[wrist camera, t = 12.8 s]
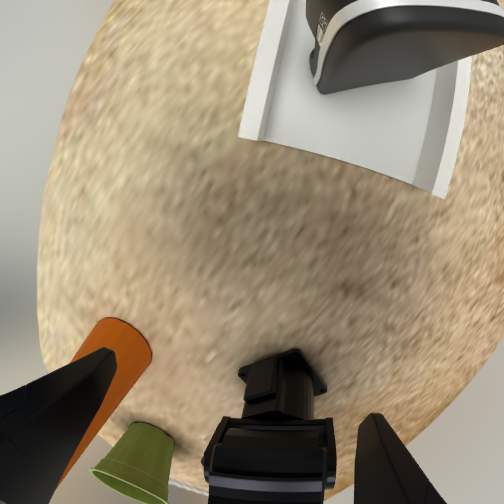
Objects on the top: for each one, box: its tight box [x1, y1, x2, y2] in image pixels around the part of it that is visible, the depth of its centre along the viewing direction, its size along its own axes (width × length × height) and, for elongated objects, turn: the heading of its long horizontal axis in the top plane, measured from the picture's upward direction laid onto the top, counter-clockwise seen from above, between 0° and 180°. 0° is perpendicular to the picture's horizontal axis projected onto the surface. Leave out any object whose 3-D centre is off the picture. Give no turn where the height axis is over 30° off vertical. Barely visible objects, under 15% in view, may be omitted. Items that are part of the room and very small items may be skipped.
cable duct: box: [238, 0, 472, 200], centre depth 12 cm, size 14×12×4 cm
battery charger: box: [306, 0, 504, 95], centre depth 8 cm, size 7×4×11 cm, turn 109°
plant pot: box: [89, 422, 174, 504], centre depth 29 cm, size 12×12×11 cm
